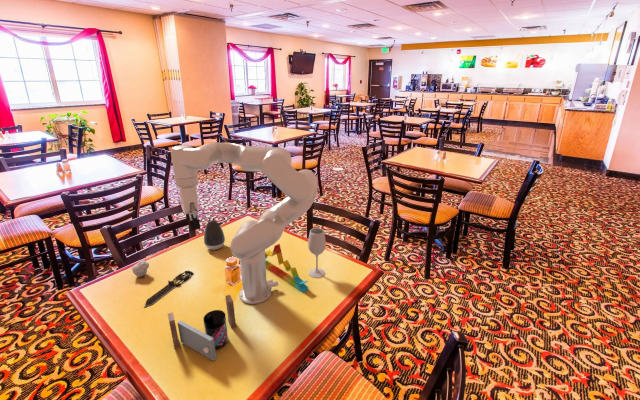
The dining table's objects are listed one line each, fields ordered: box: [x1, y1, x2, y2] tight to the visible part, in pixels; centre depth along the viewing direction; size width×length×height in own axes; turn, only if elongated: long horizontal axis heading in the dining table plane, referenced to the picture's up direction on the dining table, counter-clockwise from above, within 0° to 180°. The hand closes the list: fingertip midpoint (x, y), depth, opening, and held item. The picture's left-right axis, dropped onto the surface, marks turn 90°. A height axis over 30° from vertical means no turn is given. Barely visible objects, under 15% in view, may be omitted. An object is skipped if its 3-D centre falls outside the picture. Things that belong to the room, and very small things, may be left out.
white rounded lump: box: [131, 259, 150, 278], centre depth 140 cm, size 6×7×7 cm
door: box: [176, 320, 217, 362], centre depth 100 cm, size 15×2×8 cm, turn 60°
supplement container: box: [203, 309, 229, 350], centre depth 104 cm, size 7×7×10 cm
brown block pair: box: [167, 294, 237, 350], centre depth 108 cm, size 20×4×11 cm, turn 120°
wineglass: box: [307, 227, 327, 279], centre depth 140 cm, size 8×8×21 cm
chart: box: [265, 243, 309, 294], centre depth 139 cm, size 30×3×15 cm, turn 45°
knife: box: [143, 270, 194, 308], centre depth 133 cm, size 25×6×1 cm, turn 154°
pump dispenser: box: [203, 219, 226, 251], centre depth 162 cm, size 10×10×15 cm
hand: (193, 224), depth 120 cm, fingers open, 9 cm apart
